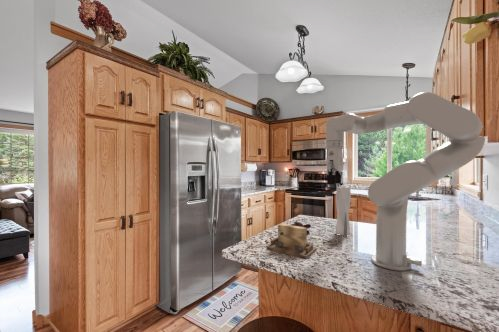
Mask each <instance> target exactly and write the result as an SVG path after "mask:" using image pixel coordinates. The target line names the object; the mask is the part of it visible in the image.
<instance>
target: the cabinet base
mask: <svg viewBox="0 0 499 332" xmlns="http://www.w3.org/2000/svg"><path fill="white" fill-rule="evenodd" d="M266 250H270V251H274V252H277V253H281V254H286V255H290V256H292V257H293V256H294V257H297V258H302V259H308V258H309V257H311V256H312V255H313V254H314V253H315V252H316V251H317V250H318V249H317V247H315V246H314V244H313V243H309V242H307V247H306V250H305V251H303V247H301V246H297V245H296V246H294V249H292V248H288V247H284V246H283V242H279V241H278V236H277V237H275V238H273V239H270V244H269V245H266Z"/></svg>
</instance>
